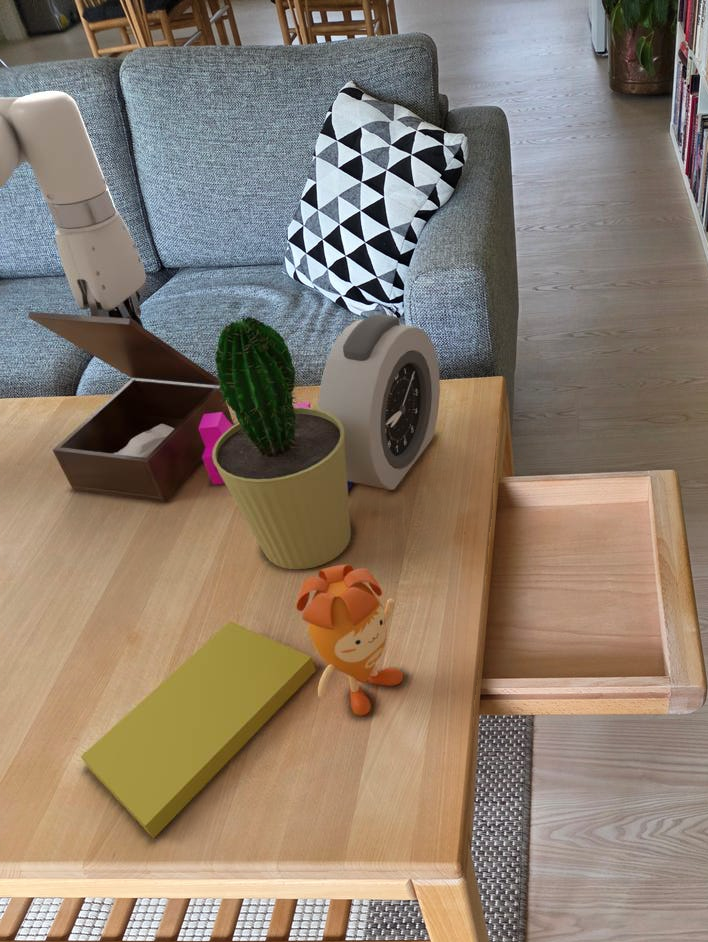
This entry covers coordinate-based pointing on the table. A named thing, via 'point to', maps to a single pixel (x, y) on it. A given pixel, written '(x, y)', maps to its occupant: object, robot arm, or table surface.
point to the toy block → (211, 432)
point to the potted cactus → (280, 451)
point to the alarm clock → (382, 397)
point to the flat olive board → (195, 723)
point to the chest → (129, 416)
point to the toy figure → (348, 628)
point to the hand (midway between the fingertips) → (137, 347)
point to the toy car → (146, 441)
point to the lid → (125, 347)
